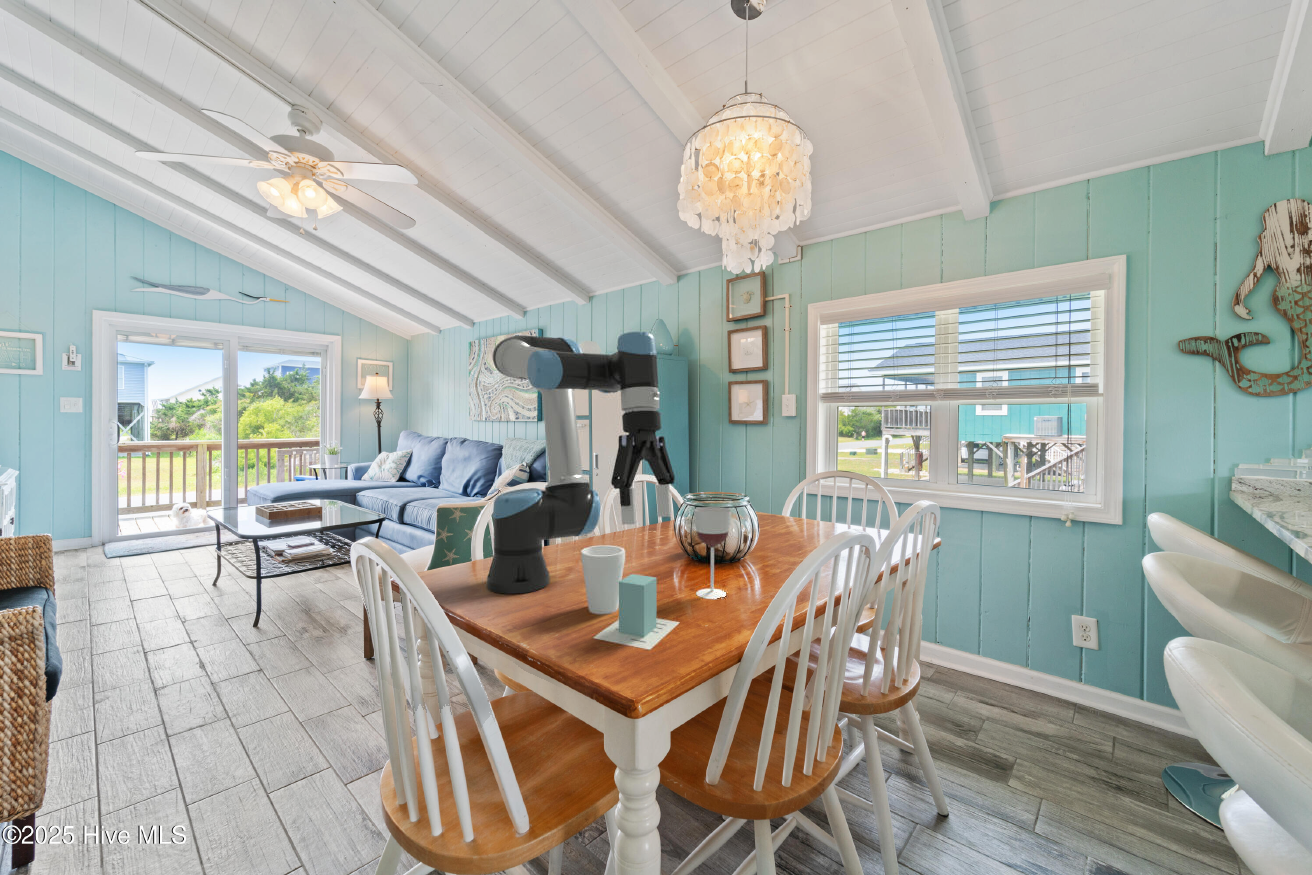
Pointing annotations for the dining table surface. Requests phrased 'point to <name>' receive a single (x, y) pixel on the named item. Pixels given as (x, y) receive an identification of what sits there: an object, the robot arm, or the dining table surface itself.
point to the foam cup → (603, 577)
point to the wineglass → (712, 538)
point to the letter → (642, 642)
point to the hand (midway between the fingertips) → (648, 520)
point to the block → (637, 605)
